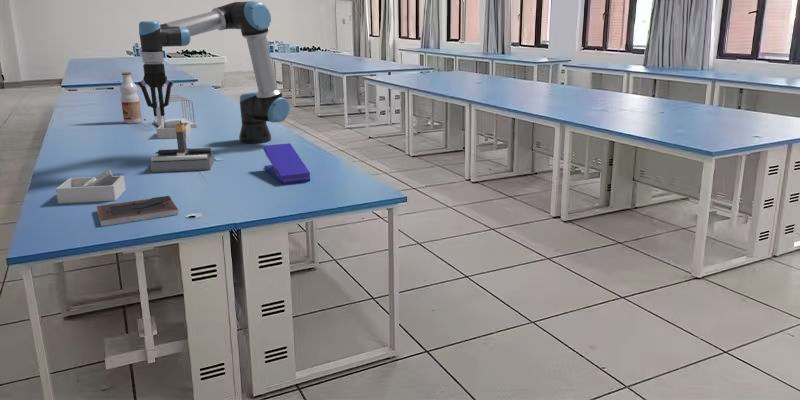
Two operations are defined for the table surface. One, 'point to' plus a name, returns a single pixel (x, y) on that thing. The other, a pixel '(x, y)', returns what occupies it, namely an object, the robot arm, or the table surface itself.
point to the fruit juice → (130, 100)
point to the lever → (181, 138)
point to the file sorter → (183, 120)
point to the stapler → (286, 164)
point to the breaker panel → (183, 163)
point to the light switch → (99, 179)
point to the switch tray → (90, 190)
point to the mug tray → (171, 131)
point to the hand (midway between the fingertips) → (160, 124)
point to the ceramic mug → (172, 124)
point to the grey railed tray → (177, 158)
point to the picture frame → (136, 210)
